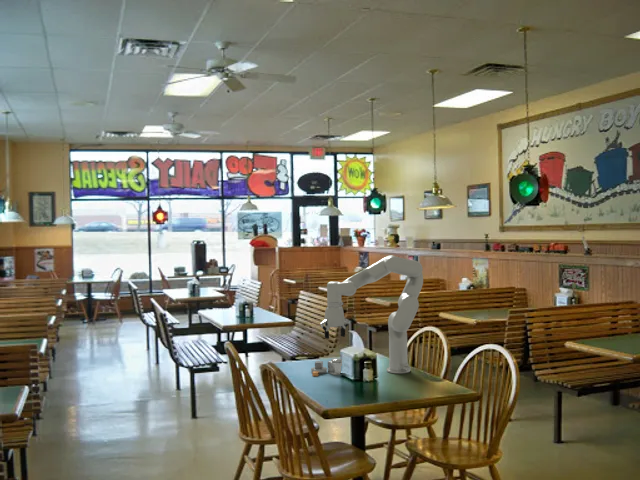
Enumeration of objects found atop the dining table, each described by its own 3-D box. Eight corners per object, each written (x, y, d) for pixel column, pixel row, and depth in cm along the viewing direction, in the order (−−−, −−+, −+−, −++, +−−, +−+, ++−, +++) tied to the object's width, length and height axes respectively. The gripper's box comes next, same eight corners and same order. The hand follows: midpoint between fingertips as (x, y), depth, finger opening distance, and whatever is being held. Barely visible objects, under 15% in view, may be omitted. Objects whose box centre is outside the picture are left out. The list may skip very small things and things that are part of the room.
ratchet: (322, 376, 323) (322, 365, 323) (307, 375, 325) (307, 365, 325) (328, 370, 336) (328, 360, 336) (313, 370, 338) (313, 359, 338)
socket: (345, 373, 329) (345, 359, 328) (334, 375, 325) (334, 361, 325) (338, 370, 334) (338, 357, 334) (327, 372, 331) (327, 359, 331)
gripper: (344, 303, 337) (345, 334, 338) (316, 305, 329) (317, 338, 329) (352, 304, 331) (352, 336, 331) (323, 307, 322) (324, 340, 323)
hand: (334, 337), depth 330 cm, fingers open, 9 cm apart
